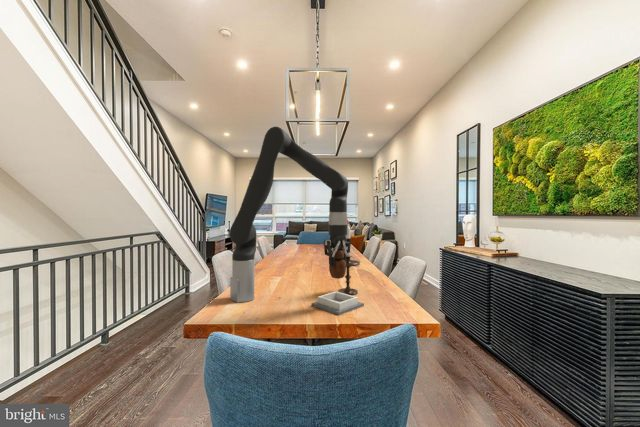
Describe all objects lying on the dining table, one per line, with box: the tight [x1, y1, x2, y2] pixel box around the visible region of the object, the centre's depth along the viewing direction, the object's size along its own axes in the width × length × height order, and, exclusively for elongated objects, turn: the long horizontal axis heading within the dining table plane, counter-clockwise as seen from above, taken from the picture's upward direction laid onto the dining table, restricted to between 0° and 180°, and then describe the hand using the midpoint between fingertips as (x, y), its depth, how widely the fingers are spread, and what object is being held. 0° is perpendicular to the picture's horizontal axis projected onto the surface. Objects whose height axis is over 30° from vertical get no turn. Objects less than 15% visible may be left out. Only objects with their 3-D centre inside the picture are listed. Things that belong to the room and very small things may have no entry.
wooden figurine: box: [328, 244, 347, 280], centre depth 116 cm, size 7×6×15 cm
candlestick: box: [337, 218, 360, 296], centre depth 135 cm, size 11×11×35 cm
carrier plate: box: [311, 290, 365, 316], centre depth 117 cm, size 15×15×4 cm
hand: (337, 264), depth 116 cm, fingers closed on wooden figurine, 6 cm apart
